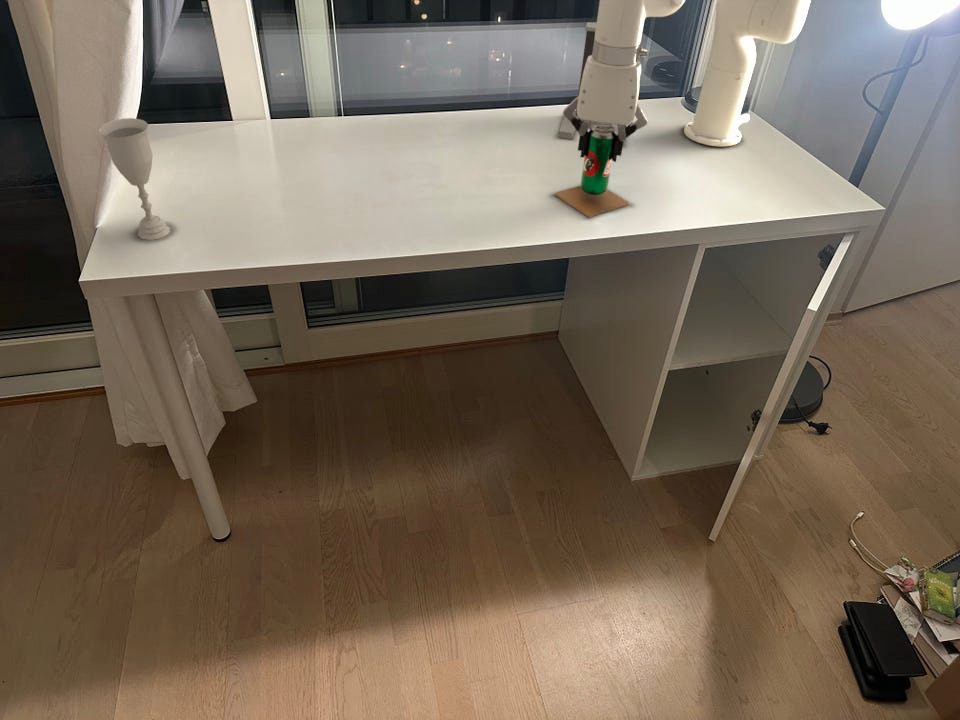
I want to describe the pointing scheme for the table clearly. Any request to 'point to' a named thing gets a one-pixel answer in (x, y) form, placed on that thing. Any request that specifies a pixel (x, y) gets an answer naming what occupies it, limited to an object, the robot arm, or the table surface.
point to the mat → (591, 201)
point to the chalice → (134, 166)
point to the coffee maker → (567, 126)
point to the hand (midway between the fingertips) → (598, 155)
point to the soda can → (598, 159)
